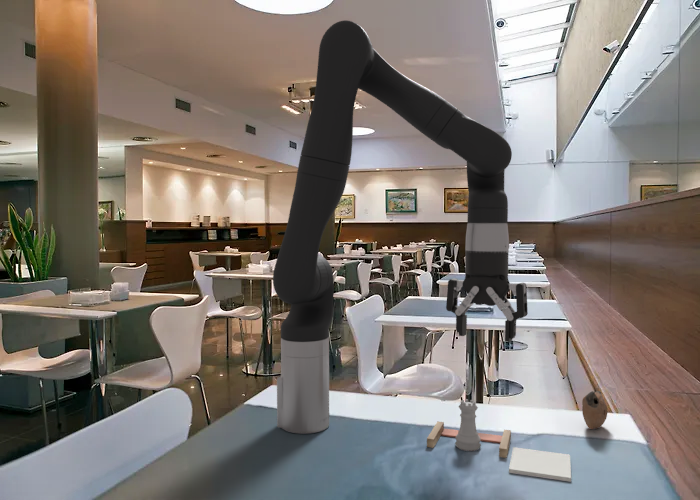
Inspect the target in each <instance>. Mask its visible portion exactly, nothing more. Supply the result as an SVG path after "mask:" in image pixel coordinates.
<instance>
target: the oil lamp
mask: <svg viewBox="0 0 700 500" xmlns="http://www.w3.org/2000/svg"><path fill="white" fill-rule="evenodd" d="M581 405H582V406H581V407H582V408H581V409H582V410H581V411H582V412H581V413H582V417H583V420H584V422H585V425H586V426H587V427H588V429H590V430H594V429H595V430H596V429H599V428H602V426H604V424H605V421H606V420H607V417H608V405H607V403H606V401H605V399H604V397H603V394H602V391H601V390H597V391H590V392H589V393H587V394H586V395H584V396H583V398H582V400H581Z"/></svg>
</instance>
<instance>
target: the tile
mask: <svg viewBox="0 0 700 500" xmlns="http://www.w3.org/2000/svg"><path fill="white" fill-rule="evenodd" d="M509 462H510V463H509V466H508V467H509V468H508V473H509V474H514V475H516V474H517V475H521V476H529V477H536V478H542V479H550V480H556V481H563V482H570V483H572V470H571V469H572V467H571V455H570V454H568V453H567V454H566V453H560V452H553V451H545V450H537V449H536V450H535V449H529V448H521V447H516V446H514V447H513V446H512V452H511V456H510V461H509Z"/></svg>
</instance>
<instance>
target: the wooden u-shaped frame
mask: <svg viewBox="0 0 700 500" xmlns="http://www.w3.org/2000/svg"><path fill="white" fill-rule="evenodd" d="M444 423H445V422H444V421H436V422H435V424H434V426H433V428H432V430H431V431H430V433H429V434H428V436H427V437H426V447H427V448H430V449H431V448H432V449H434V448H435V447H436V445H437V443H438V441H439V439H440V438H441V437H448V438H456V435H457V434H458V431H459V430H460V429H459V430H457V429H451V428H450V429H449V428H445V424H444ZM478 436H479V437H480V439H481V441H480V442H487V443H493V444H499V446H498V450H499V452H498V454H499V455H498V457H499V458H502V459H503V458H504V459H507V458H508V453H509V449H510V444H511V439H512V430H511V429H503V433H502V435H499V434H490V433H482V432H478Z"/></svg>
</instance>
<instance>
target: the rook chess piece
mask: <svg viewBox="0 0 700 500" xmlns="http://www.w3.org/2000/svg"><path fill="white" fill-rule="evenodd" d="M458 408H459V409H460V415H459V417H460V427H459V431H458V434H457V435H456V438H455V437H454V438H455V440H456V441H455V443H454V445H455V446H456V448H457V449H459V450H460V451H464V452H476V451H478V450H480V448H481V447H482V444H481V442H482V441H481V439H480V437H479V436H478V433H479V432H478V431H477V425H476V424H477V423H476V418H477V415H476V411H477V410H478V408H479V407H478V406H477V401H475V400H473V399H470V400H469V399H468V398H466V399H462V400H460V403H459V406H458Z"/></svg>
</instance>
